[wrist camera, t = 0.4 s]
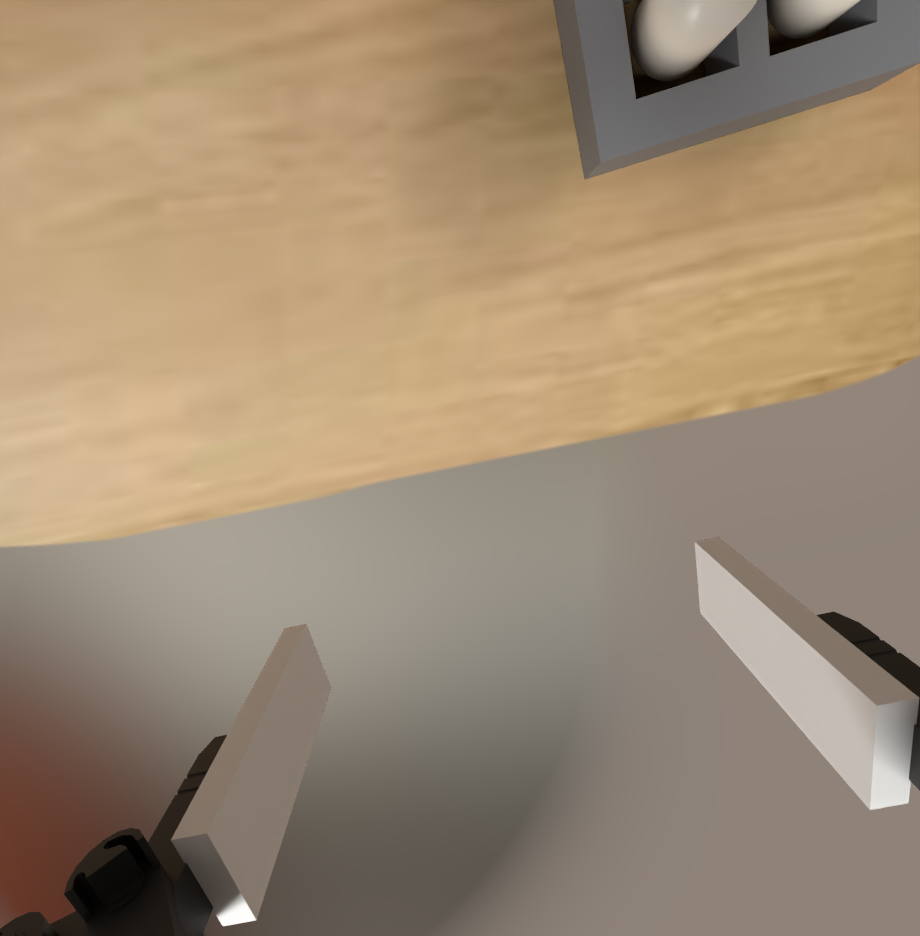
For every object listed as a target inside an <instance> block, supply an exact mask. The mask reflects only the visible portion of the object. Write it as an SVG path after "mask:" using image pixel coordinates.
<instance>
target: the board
mask: <svg viewBox="0 0 920 936" xmlns="http://www.w3.org/2000/svg"><path fill="white" fill-rule="evenodd" d="M553 1H554V7H555V12H556V18H557V24H558V30H559V35H560V41H561V47H562V52H563V58H564V64H565V70H566V75H567V81H568V87H569V93H570V98H571V104H572V110H573V116H574V121H575V127H576V133H577V138H578V144H579V150H580V156H581V161H582V167H583V173H584V179H588V178H591V177H594V176H597V175H600V174H604V173H607V172H610V171H613V170H616V169H619V168H623V167H626V166H629V165H632V164H635V163H639V162H642V161H645V160H648V159H651V158H655V157H658V156H661V155H664V154H667V153H671V152H674V151H677V150H680V149H683V148H687V147H690V146H693V145H696V144H699V143H703V142H706V141H709V140H712V139H715V138H719V137H722V136H725V135H728V134H731V133H735V132H738V131H741V130H744V129H747V128H751V127H754V126H757V125H760V124H763V123H766V122H770V121H773V120H776V119H779V118H782V117H786V116H789V115H792V114H795V113H798V112H802V111H805V110H808V109H811V108H814V107H818V106H821V105H824V104H827V103H830V102H834V101H837V100H840V99H843V98H846V97H850V96H853V95H856V94H859V93H862V92H866V91H869V90H871V89H873V88H875V87H877V86H879V85H880V84H882V83H884V82H886V81H888V80H889V79H891V78H893V77H895V76H897V75H898V74H900V73H902V72H904V71H906V70H908V69H909V68H911V67H913V66H915V65H917V64H918V63H920V0H860V1H859V2H858V3H856V4H855V5H854V6H853V7H851V8H850V9H849V10H847V11H846V12H845V13H844V14H842V15H841V16H840V17H839V18H837V19H836V20H835V21H834V22H832V23H831V24H830V25H828V38H825V39H822V40H819V41H816V42H812V43H809V44H806V45H803V46H800V47H797V48H794V49H791V50H788V51H785V52H781V53H778V54H775V55H772V56H770V52H769V36H768V20H767V3H766V0H757V2H756V4H755V5H754V7H753V8H752V10H751V11H750V12H749V13H748V14H747V16H746V17H745V18H744V19H743V20H742V21H741V22H740V23H739V24H738V25H737V26H736V27H735V28H734V29H733V30H732V31H731V32H730V33H729V34H728V35H727V36H726V37H725V38H724V39H723V40H722V41H721V43H720V44H719V45H718V46H717V47H716V48H715V49H714V50H713V51H712V52H711V53H710V54H709V55H708V56H707V57H706V58H705V59H704V64H705V74H706V77H704V78H701V79H698V80H694V81H691V82H688V83H685V84H682V85H679V86H676V87H673V88H670V89H667V90H663V91H660V92H657V93H654V94H651V95H648V96H645V97H642V98H639V99H636V95H635V88H634V80H633V73H632V66H631V59H630V51H629V44H628V37H627V30H626V22H625V15H624V8H623V4H625V3H628V2H631V1H634V0H553Z"/></svg>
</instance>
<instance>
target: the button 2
mask: <svg viewBox="0 0 920 936" xmlns="http://www.w3.org/2000/svg"><path fill="white" fill-rule="evenodd" d="M859 1H860V0H766V3H767V15H768V18H769V20H770V22H771V24H772V25H773V27H774V28H775V29H776V30H777V31H778V32H779V33H781V34H782V35H784V36H786V37H788V38H792V39H804V38H808V37H811V36H813V35H815V34H817V33H819V32H820V31H822V30H823V29H825V28H826V27H827V26H828V25H830V24H831V23H832V22H834V21H835V20H836V19H837V18H839V17H840V16H841V15H842V14H844V13H845V12H846V11H847V10H849V9H850V8H851V7H853V6H854V5H855V4H856V3H858V2H859Z"/></svg>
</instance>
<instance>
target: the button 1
mask: <svg viewBox="0 0 920 936" xmlns="http://www.w3.org/2000/svg"><path fill="white" fill-rule="evenodd" d="M756 2H757V0H641V2H640V4H639V5H638V7H637V10H636V12H635V15H634V18H633V22H632V27H631V46H632V51H633V54H634V57H635V59H636V62H637V63H638V65H639V67H640V68H641V69H642V70H643V71H644V72H645V73H646V74H647V75H648V76H650V77H652V78H654V79H656V80H660V81H674V80H678V79H680V78H683V77H685V76H686V75H688V74H689V73H691V72H692V71H693V70H694V69H695V68H696V67H697V66H698V65H699V64H700V63H701V62H702V61H703V60H704V59H705V58H706V57H707V56H708V55H709V54H710V53H711V52H712V51H713V50H714V49H715V48H716V47H717V46H718V45H719V44H720V43H721V41H722V40H723V39H724V38H725V37H726V36H727V35H728V34H729V33H730V32H731V31H732V30H733V29H734V28H735V27H736V26H737V25H738V24H739V23H740V22H741V21H742V20H743V19H744V18H745V17H746V16H747V14H748V13H749V12H750V11H751V10H752V8H753V7H754V5H755V4H756Z"/></svg>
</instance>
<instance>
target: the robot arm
mask: <svg viewBox="0 0 920 936" xmlns="http://www.w3.org/2000/svg"><path fill="white" fill-rule="evenodd" d="M695 551H696V564H697V577H698V590H699V603H700V613H701V614H702V615H703V616H704V618H705V619H706V620H707V621H708V622H709V623H710V624H711V626H712V627H713V628H714V629H715V630H716V631H717V633H718V634H719V635H720V636H721V637H722V639H724V641H725V642H726V643H727V644H728V645H729V647H730V648H731V649H732V650H733V651H734V652H735V653H736V655H737V656H738V657H739V658H740V659H741V661H742V662H743V663H744V664H745V665H746V666H747V668H748V669H749V670H750V671H751V672H752V673H753V675H755V677H756V678H757V679H758V680H759V682H760V683H761V684H762V685H763V686H764V687H765V688H766V690H767V691H768V692H769V693H770V694H771V695H772V697H773V698H774V699H775V700H776V701H777V702H778V704H779V705H780V706H781V707H782V708H783V709H784V710H785V712H786V713H787V714H788V715H789V716H790V718H791V719H792V720H793V721H794V722H795V723H796V724H797V726H798V727H799V728H800V729H801V730H802V731H803V733H804V734H805V735H806V736H807V737H808V738H809V740H810V741H811V742H812V743H813V744H814V745H815V747H816V748H817V749H818V750H819V751H820V752H821V754H822V755H823V756H824V757H825V758H826V759H827V760H828V762H829V763H830V764H831V765H832V766H833V767H834V769H835V770H836V771H837V772H838V773H839V774H840V776H841V777H842V778H843V779H844V780H845V781H846V783H847V784H848V785H849V786H850V787H851V788H852V790H853V791H854V792H855V793H856V794H857V795H858V796H859V798H860V799H861V800H862V801H863V802H864V804H865V805H866V806H867V807H868V808H869V809H870V810H872V809H878V808H884V807H889V806H895V805H900V804H906V803H908V802H909V791H910V782H912V783H913V784H914V785H915V786H916V787H917V788H918V789H919V790H920V667H919V666H917V665H916V664H915V663H913V662H912V661H911V660H909V659H908V658H907V657H905V656H904V655H903V654H901V653H897V652H896V650H895V649H894V648H893V647H892V646H890V645H889V644H887V643H886V642H885V641H883V640H882V641H881V640H880V639H879V637H878V636H877V635H875V634H874V633H873V632H871V631H870V630H869V629H867V628H866V627H864V626H863V625H862V624H860V623H859V622H857V621H854V620H852V619H850V618H847V617H845V616H843V615H840V614H838V613H836V612H830V613H825V614H820V615H815V614H814V613H813V612H812V611H810V610H809V609H808V608H807V607H805V606H804V605H803V604H801V603H800V602H799V601H798V600H797V599H795V598H794V597H793V596H791V595H790V594H789V593H788V592H786V591H785V590H784V589H783V588H782V587H780V586H779V585H778V584H777V583H775V582H774V581H773V580H772V579H770V578H769V577H768V576H767V575H765V574H764V573H763V572H762V571H760V570H759V569H758V568H757V567H755V566H754V565H753V564H752V563H750V562H749V561H748V560H746V559H745V558H744V557H743V556H742V555H740V554H739V553H738V552H736V551H735V550H734V549H733V548H732V547H730V546H729V545H728V544H727V543H726V542H724V541H723V540H722V539H721V538H719V537H716V538H711V539H706V540H701V541H696V542H695ZM330 690H331V686H330V683H329V680H328V678H327V675H326V673H325V670H324V668H323V665H322V663H321V660H320V658H319V655H318V653H317V650H316V647H315V645H314V642H313V640H312V637H311V635H310V632H309V630H308V627H307V624H303V625H299V626H294V627H289V628H285V629H284V630H283V632H282V634H281V636H280V638H279V640H278V642H277V644H276V646H275V647H274V649H273V651H272V653H271V655H270V657H269V659H268V660H267V662H266V664H265V666H264V668H263V670H262V671H261V673H260V675H259V677H258V679H257V681H256V682H255V685H254V686H253V688H252V690H251V692H250V694H249V696H248V697H247V699H246V701H245V703H244V705H243V707H242V709H241V711H240V712H239V714H238V716H237V718H236V720H235V722H234V724H233V725H232V727H231V729H230V731H229V733H228V735H224V736H219V737H215V738H214V739H213V740H212V741H211V742H210V743H209V745H208V746H207V747H206V748H205V749H204V750H203V751H202V752H201V753H200V754H199V755H198V757H197V759H196V760H195V762H194V764H193V766H192V767H191V769H190V771H189V773H188V774H187V779H184V781H183V783H182V785H181V786H180V788H179V790H178V794H177V795H176V796H175V797H174V799H173V800H172V802H171V804H170V805H169V807H168V809H167V811H166V812H165V814H164V816H163V818H162V819H161V821H160V823H159V825H158V826H157V828H156V830H155V831H154V833H153V835H152V837H151V838H150V840H149V842H147V841H146V839H145V838H144V836H143V835H142V833H141V831H140V830H139V829H133V828H129V829H126V830H122V831H119V832H117V833H115V834H113V835H112V836H110V837H108V838H106V839H105V840H103V841H102V842H101V843H100V844H98V845H97V846H96V847H95V848H94V849H92V850H91V851H90V852H89V853H88V854H87V855H86V856H85V858H84V859H83V860H82V861H81V862H80V863H79V864H78V865H77V867H76V868H75V870H74V872H73V873H72V875H71V877H70V878H69V880H68V882H67V886H66V890H65V894H64V895H65V896H66V897H67V899H68V900H69V901H70V902H71V904H72V905H73V906H74V908H75V909H76V911H75V912H73V913H72V914H70V915H68V916H66V917H64V918H62V919H60V920H58V921H56V922H54V923H52V924H49V923H48V922H47V920H46V919H45V918H44V917H43V915H42V914H41V913H40V912H29V913H27V914H24V915H22V916H20V917H18V918H15V919H14V920H12V921H11V922H9V923H8V924H6V925H5V926H4V927H2V928H1V929H0V936H206V934H205V933H204V929H205V927H206V924H207V922H208V919H209V917H210V914H211V912H212V909H213V910H214V912H215V914H216V915H217V917H218V919H219V921H220V922H221V924H222V926H227V925H232V924H238V923H243V922H248V921H254V920H257V917H258V913H259V910H260V907H261V904H262V901H263V898H264V895H265V892H266V889H267V885H268V882H269V879H270V876H271V873H272V870H273V867H274V864H275V861H276V858H277V854H278V851H279V848H280V845H281V842H282V839H283V836H284V833H285V830H286V827H287V824H288V821H289V817H290V814H291V811H292V808H293V805H294V802H295V799H296V795H297V793H298V790H299V786H300V783H301V780H302V777H303V774H304V771H305V768H306V765H307V762H308V759H309V756H310V752H311V749H312V746H313V743H314V740H315V737H316V734H317V731H318V728H319V724H320V721H321V718H322V715H323V712H324V709H325V706H326V702H327V700H328V697H329V693H330Z"/></svg>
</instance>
